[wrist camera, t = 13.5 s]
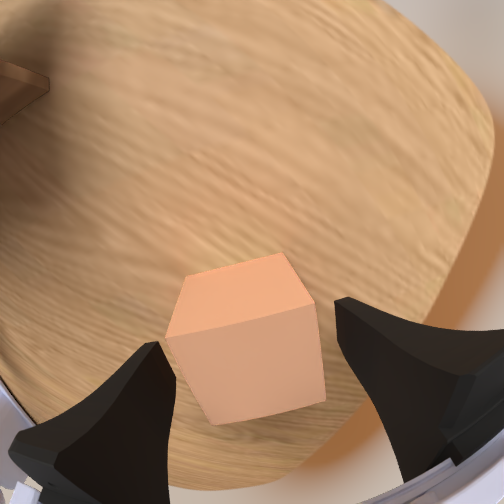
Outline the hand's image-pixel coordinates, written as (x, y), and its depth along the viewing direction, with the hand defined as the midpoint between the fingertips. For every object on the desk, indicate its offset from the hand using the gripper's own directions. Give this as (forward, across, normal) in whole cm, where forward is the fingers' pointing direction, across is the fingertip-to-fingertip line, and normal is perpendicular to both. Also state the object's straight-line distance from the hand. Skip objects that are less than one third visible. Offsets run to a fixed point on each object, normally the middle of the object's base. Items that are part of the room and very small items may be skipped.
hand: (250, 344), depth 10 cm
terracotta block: (+3, 0, 0) cm, 3 cm away
